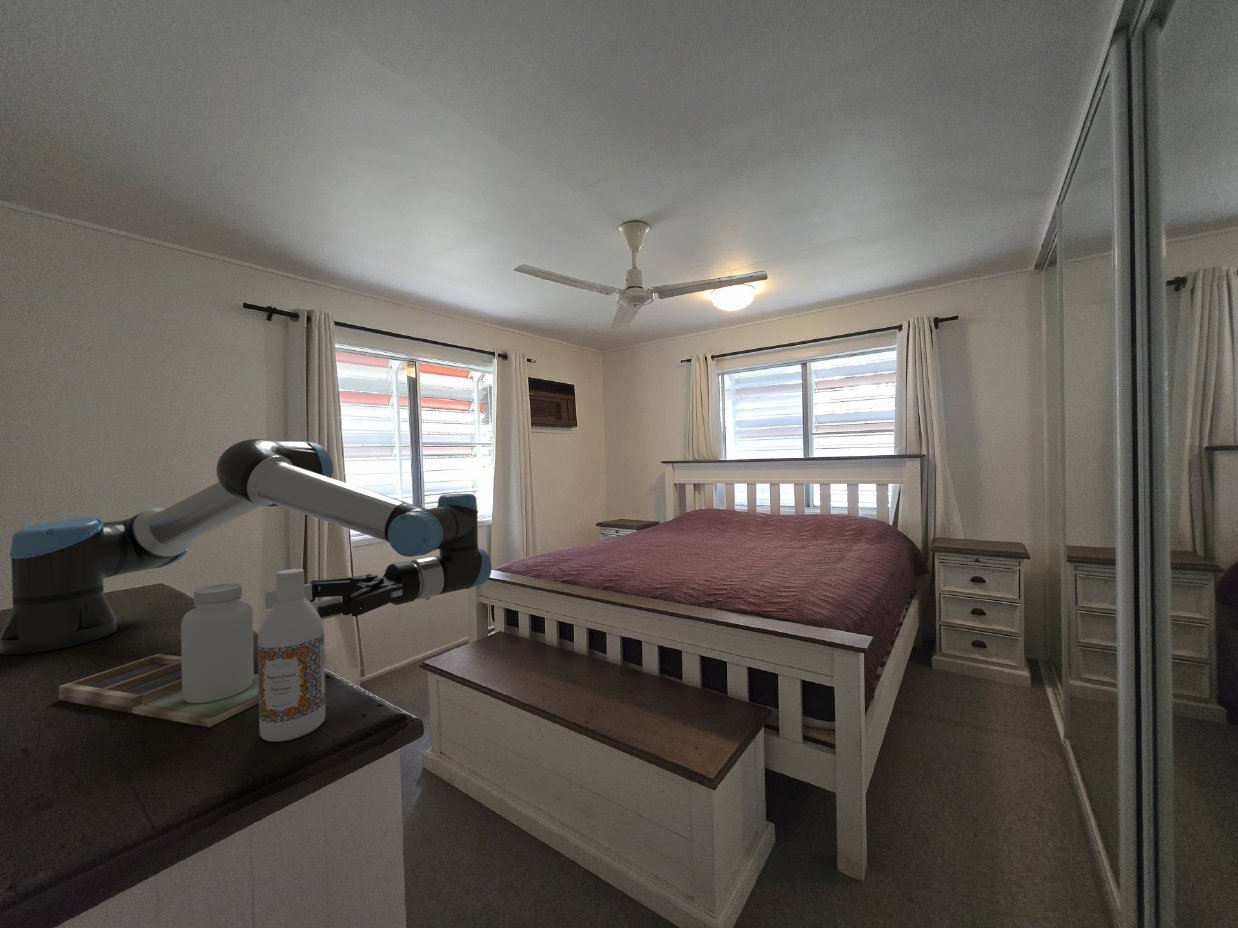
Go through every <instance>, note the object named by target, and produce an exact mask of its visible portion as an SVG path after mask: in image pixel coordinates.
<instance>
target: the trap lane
mask: <svg viewBox="0 0 1238 928" xmlns="http://www.w3.org/2000/svg"><path fill="white" fill-rule="evenodd" d="M58 693H59V694H58V695H59V696H58V697H59V701H64V702H69V703H74V704H75V703H76V704H78V705H79V704H80V705H85V706H90V707H96V708H101V709H107V710H112V711H119V712H124V713H130V714H135V715H140V716H145V717H150V718H151V717H152V718H157V719H163V720H168V721H172V722H173V721H174V722H177V723H179V722H180V723H183V724H189V725H194V726H200V727H205V728H212V727H213V726H215V725H218V724H220V723H221V722H223V721H225V720H228V719H229V718H231V717H234V716H235V715H237V714H239V713H241V712H243V711H246V710H248V709H250V708H251V707H254V706H256V705H259V692H258V673H254V677H253V683H252V685H251V686H250V687H249V688H247V689H246V690H244V691H242V692H240V693H238V694H236V695H233V696H230V697H227V698H224V699H220V700H216V701H212V702H205V703H188V702H185V701H184V700H183V697H182V656H178V655H170V654H165V653H164V654H163V653H157V654H156V653H155V654H154V655H150V656H146V657H144V658H141V659H138V660H135V661H131V662H129V663H125V664H122V665H120V666H116V667H114V668H113V667H112V668H111V669H107V670H104V671H102V672H98V673H96V674H92V675H89V676H86V677H83V678H80V679H77V680H74V681H71V682H70V681H69V682H67V683H65V684H60V685H58Z"/></svg>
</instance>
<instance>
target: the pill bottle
mask: <svg viewBox="0 0 1238 928" xmlns="http://www.w3.org/2000/svg"><path fill="white" fill-rule="evenodd" d="M242 595H243V586H242V585H241V584H239V583H221V584H213V585H208V586H203V587H200V588H197V589H196V590H195V591H194V592H193V606H194V608H192V609H190V610H188V611H187V612H186V613H185V614H184V615H183V617H182V619H181V622H180V630H181V631H180V635H181V637H180V638H181V639H180V640H181V643H180V644H181V645H180V647H181V649H180V650H181V653H180V654H181V657H182V697H183V700H184V701H185V702H188V703H205V702H212V701H216V700H220V699H224V698H227V697H230V696H233V695H236V694H238V693H240V692H242V691H244V690H246V689H247V688H249V687H250V686H251V685H252V683H253V677H254V674H255V673H254V667H255V666H254V665H255V664H254V612H253V611H254V610H253V607H252V606H251V605H250V603H248V602H245V601H241V599H242Z"/></svg>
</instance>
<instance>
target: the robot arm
mask: <svg viewBox="0 0 1238 928" xmlns="http://www.w3.org/2000/svg"><path fill="white" fill-rule="evenodd" d="M331 457H332V456H331V455H330V453H329V452H328V450H326V449H325V447H323V446H322V445H320V444H319V443H316V442H311V441H307V440H296V441H295V440H280V439H263V438H250V439H245V440H242V441H239V442H236V443H234V444H232V445H230V446H229V447H228V448H227V449H225V450H224V452H223V453H222V454H221V455H220V457H219V459H218V461H217V462H216V463H217V464H216V469H215V471H216V476H217V480H218V481H217V482H216V483H213V484H212V485H210V486H208V487H206V488H204V489H202V490H199V491H198V492H196V493H193V494H191V495H190V496H188V497H186V498H183V499H182V500H180V501H178V502H176V503H174V504H171V505H170V506H167V507H166V508H165V507H152V508H151V507H150V508H148V509H146V510H144V511H142V512H140V513H138V514H136V515H134V516H132V517H129V518H126V519H124V520H117V521H109V522H108V521H107V522H103V520H102V519H101V518H99V517H78V518H70V519H69V518H68V519H60V520H55V521H47V522H43V523H39V524H34V525H31V526H30V525H29V526H26V527H24V528H22V529H20V530H18V531H16V532H15V533H14V534H13V535H12V537H11V546H10V552H9V557H10V558H11V586H12V587H11V588H12V589H11V591H12V608H11V609H12V610H11V612H10V614H9V616H8V618H7V620H6V622H5V625H4V627H3V629H2V632H1V634H0V655H5V656H6V655H7V656H9V655H10V656H11V655H12V656H16V655H30V654H35V653H36V654H37V653H42V652H48V651H49V652H50V651H56V650H60V649H65V648H70V647H74V646H79V645H82V644H85V643H90V642H93V641H96V640H99V639H100V640H101V639H102V638H105V637H107V636H109V635H111V634H114V633H115V632H117V630H118V622H117V621H118V620H117V617H116V615H115V613H114V611H113V609H112V608H111V606H110V604H109V602H108V601H107V597H106V596H105V593H104V579H106V578H111V577H115V576H116V577H117V576H120V575H125V574H131V573H137V572H141V571H146V570H152V569H160V568H163V567H166V566H169V565H171V564H175V563H177V562H178V561H179V560H181V559H182V558H183V557H185V555H186V554H188V551H189V550H188V549H189V548H190V547H191V545H192V543H193V540H196V539H198V538H200V537H202V536H203V535H206V534H208V533H210V532H212V531H214V530H216V529H217V528H220V527H222V526H223V525H226V524H228V523H230V522H232V521H234V520H236V519H238V518H240V517H242V516H245V515H247V514H249V513H250V512H252V511H254V510H257V509H259V508H260V507H261V508H262V507H268V508H275V507H279V506H280V507H281V508H282V507H283V508H286V509H288V510H291V511H294V512H298V513H300V514H304V515H306V516H309V517H313V518H315V519H318V520H322V521H325V522H328V523H330V524H333V525H337V526H340V527H342V528H345V529H349V530H351V531H354V532H357V533H361V534H363V535H367V536H369V537H372V538H375V539H378V540H382V541H384V542H387V543H389V545H390V546H391V548H392V549H393V550H394V551H395V552H396V553H397V554H398V555H400V556H403V557H407V558H408V557H409V558H410V557H411V558H413V557H417V556H419V557H420V556H424V555H425V556H426V555H427V554H430V553H432V552H433V551H436V550H438V551H439V555H437V556H427V557H421V558H416V559H411V560H407V561H406V560H405V561H401V562H394V563H391V564H389V565H387V566H386V569H385V572H384V574H383V575H382V576H379V575H378V574H371V573H367V574H364V575H363V574H362V575H356V576H345V577H343V576H342V577H335V578H325V579H324V578H323V579H313V580H311V581H310V583H307V584H304V596H305V598H306V599H307V601H308V602H309V603H310V604H311V605H312V606H313V607H314V609H315V610H316V611H317V613H318V614H319V616H320V618H321V621H322V620H326V619H330V618H334V617H339V616H341V615H343V616H349V615H351V616H352V617H354V618H355V617H358V616H361V615H364V614H366V613H368V612H371V611H373V610H376V609H378V608H381V607H383V606H386V605H388V604H390V603H391V604H392V605H393V606H394V605H395V606H399V605H403V604H407V603H410V602H414V601H415V600H422V599H423V600H424V599H425V601H430V600H431V597H435V596H439V595H440V596H441V595H443V594H448V593H452V592H457V591H461V590H462V591H463V590H469V589H471V588H475V587H478V586H480V585H483V584H485V583H486V582H488V580H489V578H490V576H491V574H492V569H493V568H492V562H491V561H490V556H489V553H488V552H487V551H486V550H485V549H482V548H479V546H478V545H479V542H478V540H479V539H478V533H479V532H478V531H479V529H478V525H479V524H478V514H479V510H478V503H477V497H476V496H475V495H474V494H473V493H451V494H450V493H449V494H442V495H440V496H439V497H438V499H437V507H431V508H425V507H422V506H418V505H416V504H413V503H409V502H406V501H404V500H401V499H398V498H394V497H391V496H388V495H385V494H383V493H379V492H376V491H372V490H369V489H366V488H364V487H360V486H357V485H354V484H351V483H348V482H345V481H342V480H340V479H335V478H332V477H333V474H334V466H333V465H334V464H333V460H332V458H331ZM264 596H265V598H264V600H265V603H264V604H265V609H266V610H269V609H272V608H273V606H274V605H275V603H276V602H277V590H276V589H274V590H268V591H264ZM317 598H327V599H324V600H318V601H316V599H317ZM341 600H342V601H341Z"/></svg>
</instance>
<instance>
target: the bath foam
mask: <svg viewBox="0 0 1238 928" xmlns="http://www.w3.org/2000/svg"><path fill="white" fill-rule="evenodd" d="M275 582H276V584H275V585H276V586H275V587H276V589H275V590H277V602H276V603H275V605H274V606H273V608H270V609H271V610H269V612H268V613H267V615H266V617H265V618H264V620H263V622H262V624H261V626H260V628H259V629H260V630H259V632H258V638H257V644H256V645H257V647H256V648H257V674H258V692H259V703H258V720H259V724H258V725H259V736H260V738H262V740H264V741H267V742H271V743H273V742H274V743H275V742H276V743H279V742H287V741H290V740H295V739H297V738H300V737H303V736H305V735H307V734H310V733H311V732H313V731H315V730H316V729H318V727H320V726H321V725H322V724H323V723H324V721H325V718H326V675H325V674H326V673H325V672H326V671H325V670H326V669H325V667H326V666H325V664H326V663H325V661H326V659H325V632H324V625H323V622H322V620H321V618H320V616H319V614H318V613H317V611H316V610H315V609H314V607H313V606H312V605H311V604H310V603H311V602H310V601H307V599H306V598H305V596H304V585H305V570H304V569H303V568H290V569H284V570H279V571H277V572H276V575H275Z"/></svg>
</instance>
